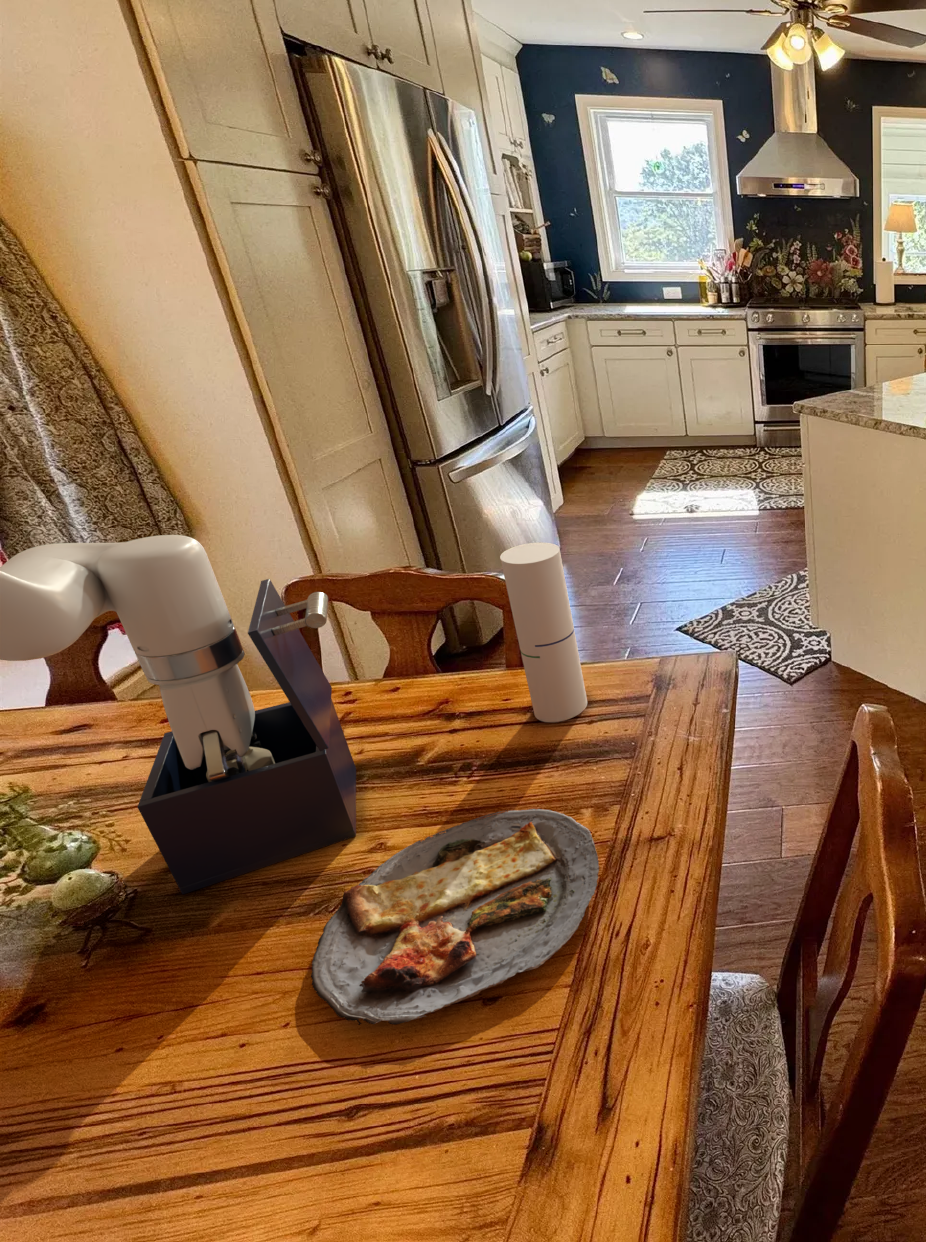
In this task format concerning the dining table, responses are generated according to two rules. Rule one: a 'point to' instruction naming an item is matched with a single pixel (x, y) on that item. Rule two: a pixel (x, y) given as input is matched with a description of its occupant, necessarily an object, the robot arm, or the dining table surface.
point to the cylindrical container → (545, 630)
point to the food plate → (456, 915)
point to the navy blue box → (251, 803)
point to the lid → (294, 656)
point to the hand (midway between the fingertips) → (249, 789)
